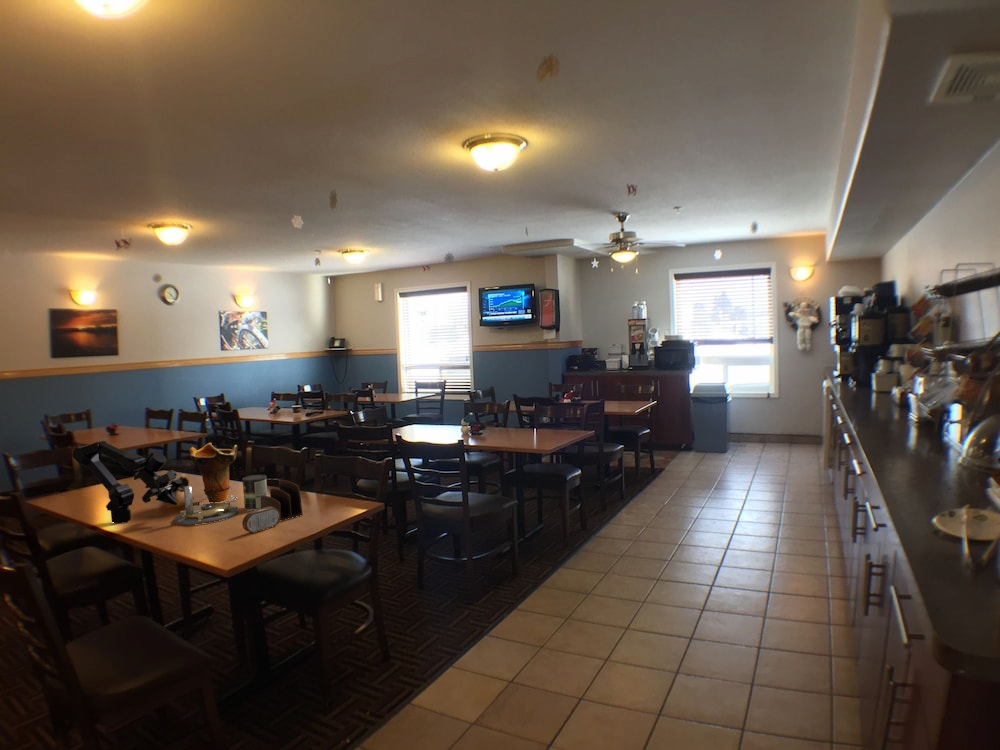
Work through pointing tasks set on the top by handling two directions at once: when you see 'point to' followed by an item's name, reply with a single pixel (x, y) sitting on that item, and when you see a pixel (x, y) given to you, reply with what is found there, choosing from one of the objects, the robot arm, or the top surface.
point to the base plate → (206, 518)
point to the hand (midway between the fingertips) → (176, 504)
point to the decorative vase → (214, 470)
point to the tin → (261, 519)
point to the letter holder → (284, 500)
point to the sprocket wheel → (202, 507)
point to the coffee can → (254, 491)
